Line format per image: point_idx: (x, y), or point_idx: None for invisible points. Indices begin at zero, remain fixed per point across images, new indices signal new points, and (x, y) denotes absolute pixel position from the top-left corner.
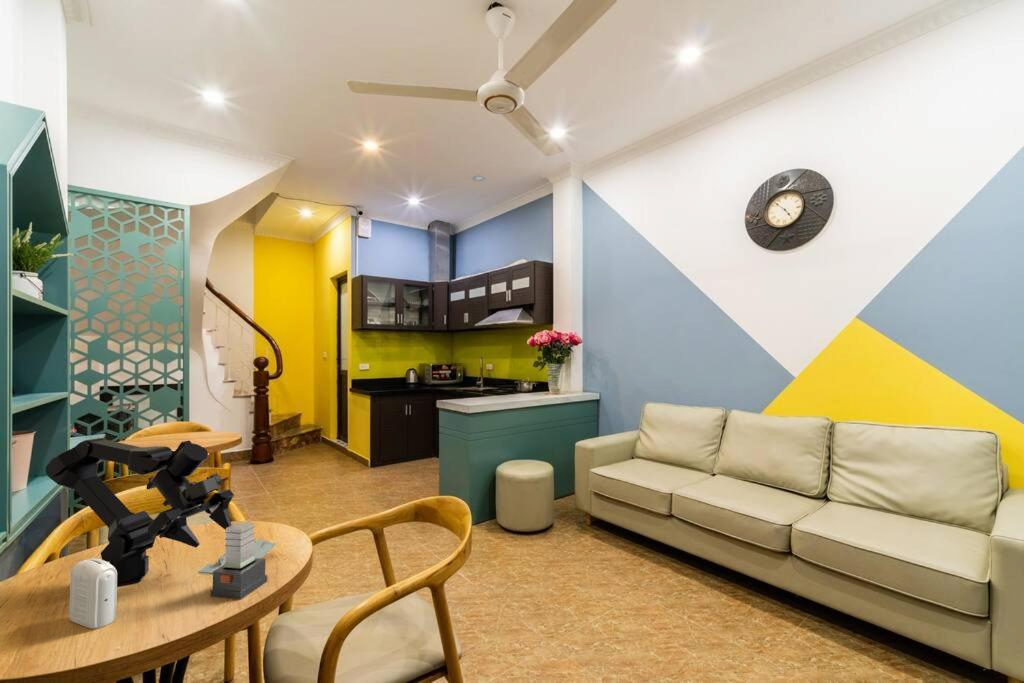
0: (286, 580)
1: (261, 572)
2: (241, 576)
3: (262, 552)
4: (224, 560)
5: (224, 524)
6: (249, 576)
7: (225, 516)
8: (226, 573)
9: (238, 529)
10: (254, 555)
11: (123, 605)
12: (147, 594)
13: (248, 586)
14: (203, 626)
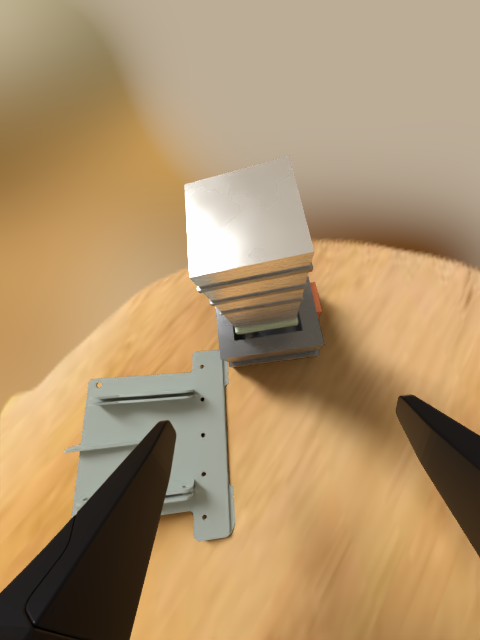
0: None
1: None
2: None
3: (131, 390)
4: (180, 484)
5: (152, 488)
6: None
7: (102, 523)
8: (312, 297)
9: (292, 172)
10: (153, 392)
11: (462, 591)
12: (383, 576)
13: None
14: (401, 256)
